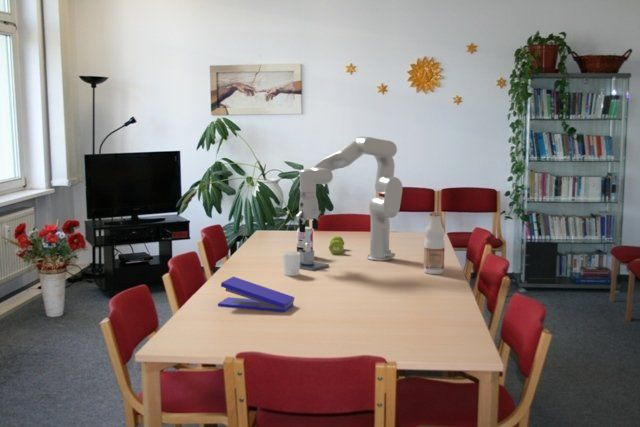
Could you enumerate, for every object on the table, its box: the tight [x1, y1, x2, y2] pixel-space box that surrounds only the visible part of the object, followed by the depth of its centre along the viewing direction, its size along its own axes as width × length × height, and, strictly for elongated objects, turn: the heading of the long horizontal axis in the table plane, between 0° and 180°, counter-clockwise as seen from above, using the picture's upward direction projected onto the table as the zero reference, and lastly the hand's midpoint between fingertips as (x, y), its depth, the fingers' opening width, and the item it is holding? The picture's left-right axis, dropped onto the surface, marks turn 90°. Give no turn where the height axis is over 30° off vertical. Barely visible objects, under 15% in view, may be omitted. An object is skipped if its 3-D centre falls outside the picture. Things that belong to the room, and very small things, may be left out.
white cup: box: [282, 251, 300, 277], centre depth 337 cm, size 8×8×10 cm
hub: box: [299, 249, 315, 263], centre depth 355 cm, size 7×7×5 cm
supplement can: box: [296, 226, 314, 252], centre depth 377 cm, size 8×8×15 cm
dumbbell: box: [328, 235, 345, 255], centre depth 392 cm, size 16×8×7 cm, turn 176°
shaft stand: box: [299, 243, 330, 272], centre depth 354 cm, size 16×12×11 cm
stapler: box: [217, 276, 296, 313], centre depth 284 cm, size 12×28×10 cm, turn 73°
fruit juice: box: [423, 212, 446, 275], centre depth 343 cm, size 9×9×28 cm
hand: (308, 230), depth 353 cm, fingers open, 9 cm apart
